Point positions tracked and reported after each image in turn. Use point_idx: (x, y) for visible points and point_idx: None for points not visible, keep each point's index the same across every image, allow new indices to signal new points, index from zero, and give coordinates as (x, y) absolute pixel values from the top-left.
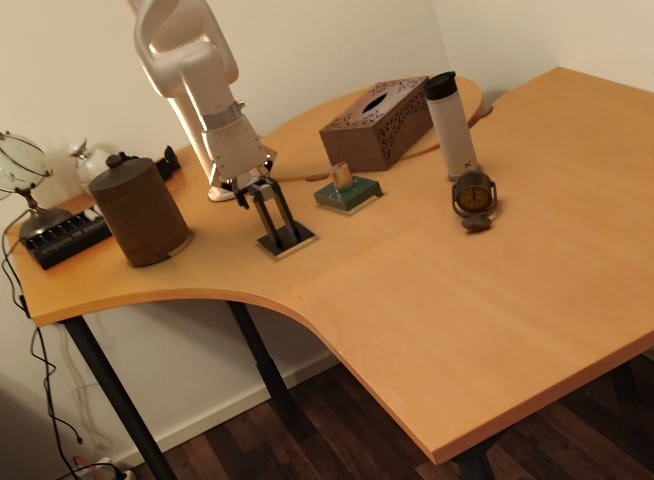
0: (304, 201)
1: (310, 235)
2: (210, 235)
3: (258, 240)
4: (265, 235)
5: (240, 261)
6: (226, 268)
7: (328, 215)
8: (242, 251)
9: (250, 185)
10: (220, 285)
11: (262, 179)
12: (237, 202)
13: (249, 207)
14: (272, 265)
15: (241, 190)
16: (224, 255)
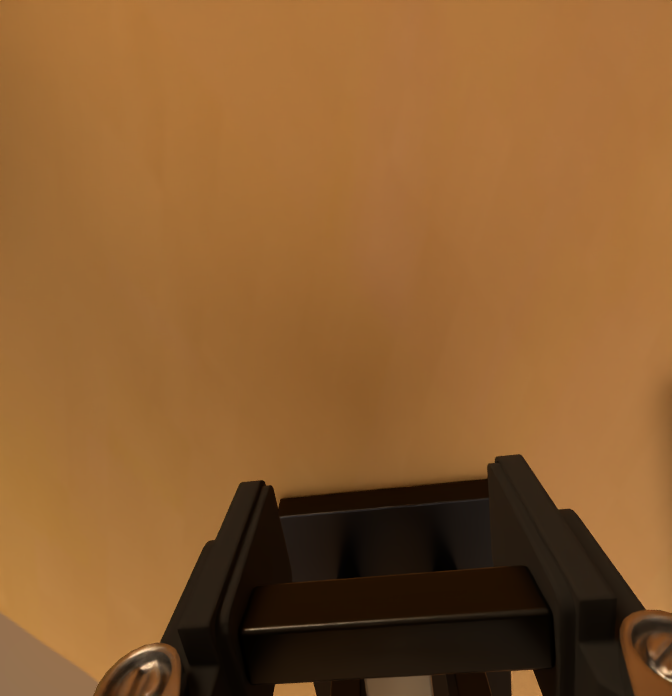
0: (666, 212)
1: (492, 690)
2: (12, 74)
3: (284, 534)
4: (326, 516)
5: (181, 563)
6: (117, 566)
7: (647, 525)
8: (199, 486)
9: (384, 675)
10: (92, 661)
11: (558, 684)
12: (201, 554)
13: (291, 582)
14: (297, 692)
15: (261, 678)
16: (109, 444)
